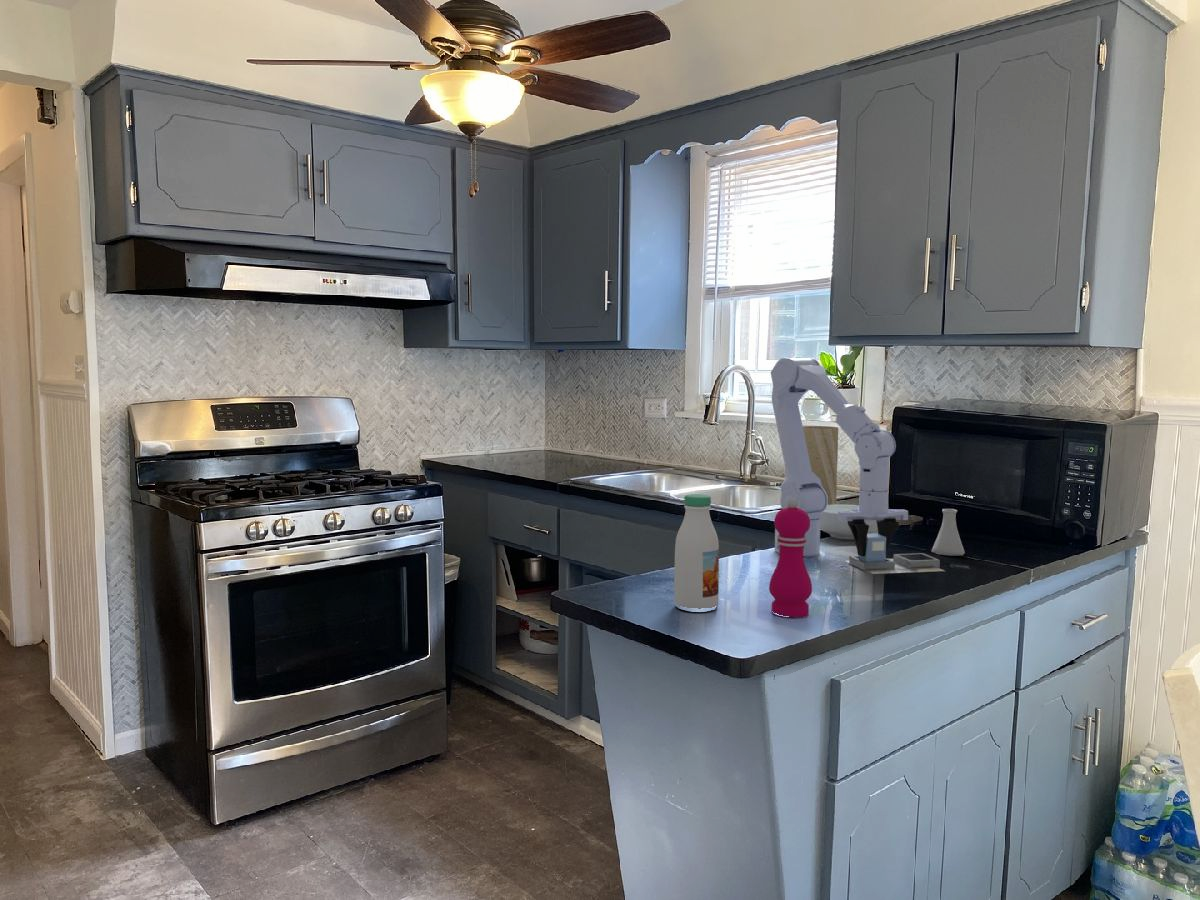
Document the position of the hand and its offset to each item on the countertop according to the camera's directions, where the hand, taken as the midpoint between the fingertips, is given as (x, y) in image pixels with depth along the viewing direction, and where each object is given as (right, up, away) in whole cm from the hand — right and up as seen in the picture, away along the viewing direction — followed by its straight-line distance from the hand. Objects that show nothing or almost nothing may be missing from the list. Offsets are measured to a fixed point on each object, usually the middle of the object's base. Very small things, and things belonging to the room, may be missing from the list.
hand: (871, 555), depth 184 cm
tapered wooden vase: (+5, +3, +66) cm, 67 cm away
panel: (+5, -3, +1) cm, 6 cm away
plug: (0, -2, 0) cm, 2 cm away
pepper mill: (-23, -7, -31) cm, 39 cm away
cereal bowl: (+5, 0, +37) cm, 37 cm away
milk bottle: (-39, -6, -27) cm, 48 cm away
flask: (+23, -2, +18) cm, 29 cm away
